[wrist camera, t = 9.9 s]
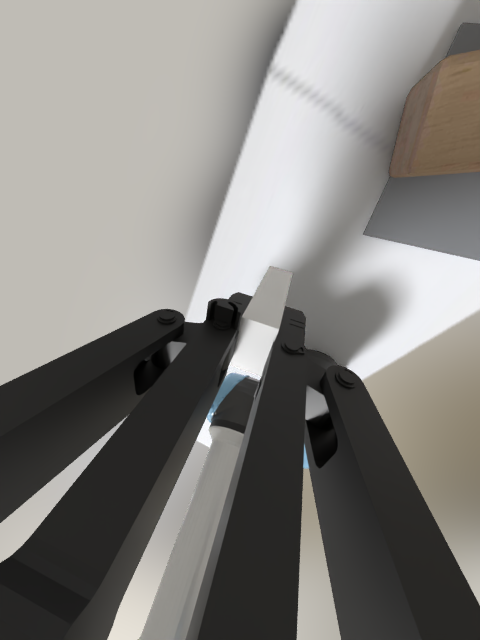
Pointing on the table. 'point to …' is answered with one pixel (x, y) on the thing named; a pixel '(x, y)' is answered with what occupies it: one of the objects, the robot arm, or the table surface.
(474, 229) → the mat
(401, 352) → the table surface
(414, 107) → the wooden block
